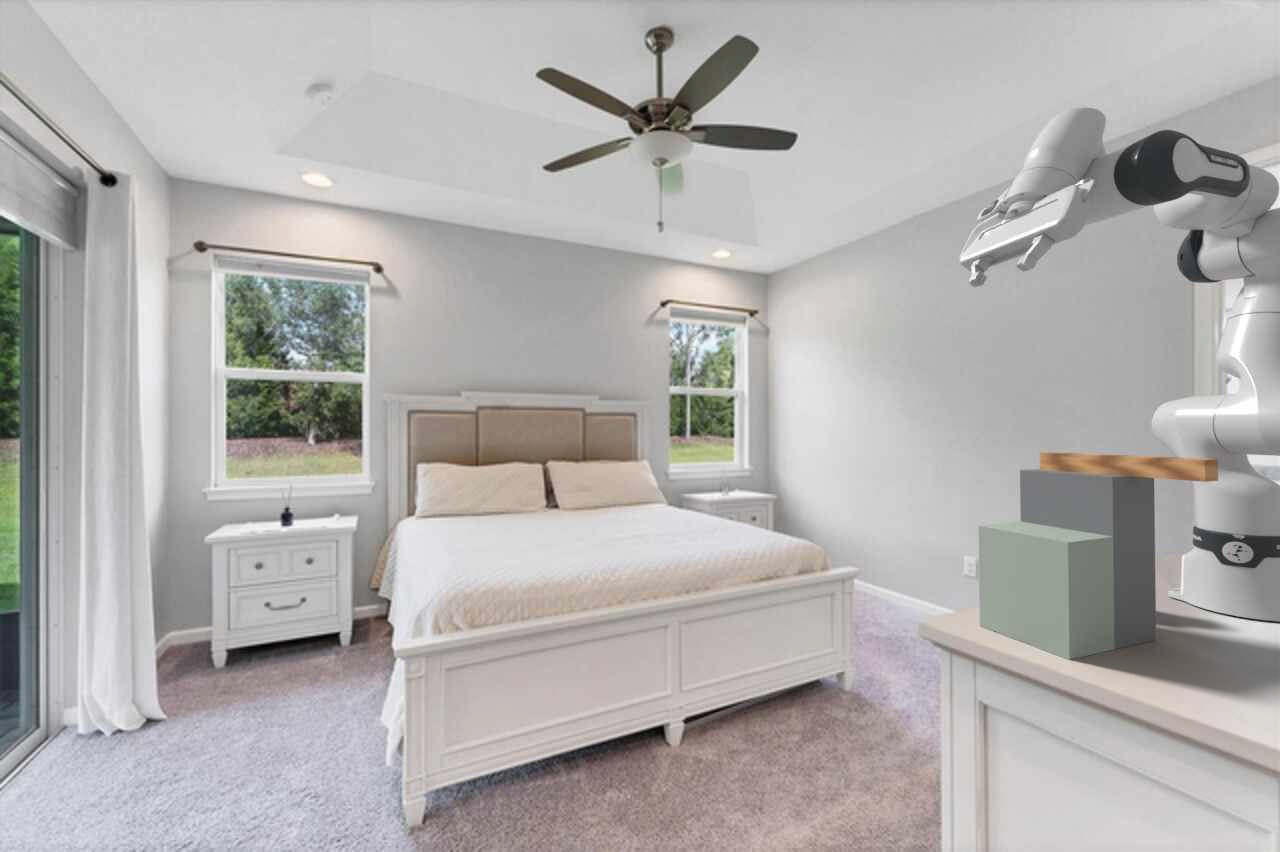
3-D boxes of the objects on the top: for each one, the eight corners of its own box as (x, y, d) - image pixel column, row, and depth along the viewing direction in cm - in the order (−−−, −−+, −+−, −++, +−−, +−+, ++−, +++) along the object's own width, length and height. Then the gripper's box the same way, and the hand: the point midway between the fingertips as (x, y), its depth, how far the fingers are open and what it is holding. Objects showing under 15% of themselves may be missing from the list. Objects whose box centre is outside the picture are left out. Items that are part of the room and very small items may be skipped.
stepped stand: (1156, 639, 85) (1154, 474, 85) (1069, 659, 78) (1067, 480, 78) (1060, 611, 98) (1059, 467, 98) (979, 626, 91) (977, 472, 91)
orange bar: (1218, 480, 75) (1217, 459, 75) (1205, 481, 74) (1204, 459, 74) (1051, 469, 96) (1051, 452, 96) (1039, 469, 95) (1039, 452, 95)
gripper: (1118, 185, 76) (1076, 268, 75) (999, 235, 96) (965, 301, 95) (1084, 160, 75) (1042, 244, 74) (972, 216, 95) (937, 282, 94)
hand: (998, 276), depth 85 cm, fingers open, 8 cm apart
